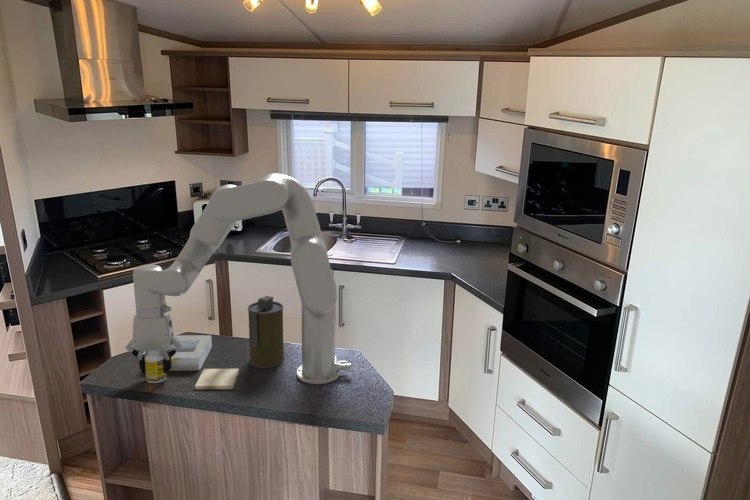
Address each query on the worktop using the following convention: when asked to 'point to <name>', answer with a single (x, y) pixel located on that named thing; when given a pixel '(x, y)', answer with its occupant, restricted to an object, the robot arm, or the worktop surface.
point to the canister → (266, 333)
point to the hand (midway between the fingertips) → (156, 370)
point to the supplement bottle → (155, 367)
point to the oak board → (217, 379)
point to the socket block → (191, 352)
